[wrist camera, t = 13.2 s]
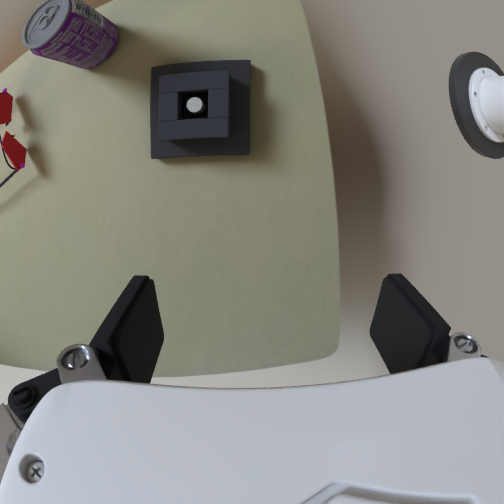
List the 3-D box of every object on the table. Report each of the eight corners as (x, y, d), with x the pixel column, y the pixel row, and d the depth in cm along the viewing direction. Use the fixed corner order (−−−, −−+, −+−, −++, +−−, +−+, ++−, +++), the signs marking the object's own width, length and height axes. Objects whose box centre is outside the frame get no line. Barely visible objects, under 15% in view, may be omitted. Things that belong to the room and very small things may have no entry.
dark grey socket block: (230, 76, 25) (229, 70, 23) (230, 137, 28) (228, 137, 25) (166, 80, 25) (159, 75, 22) (166, 140, 28) (158, 140, 25)
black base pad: (250, 63, 26) (250, 53, 22) (249, 154, 30) (249, 156, 27) (155, 69, 26) (144, 62, 22) (155, 157, 30) (143, 161, 26)
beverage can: (90, 20, 21) (41, -8, 10) (130, 26, 23) (86, -10, 12) (66, 65, 24) (9, 51, 13) (104, 74, 25) (48, 56, 14)
